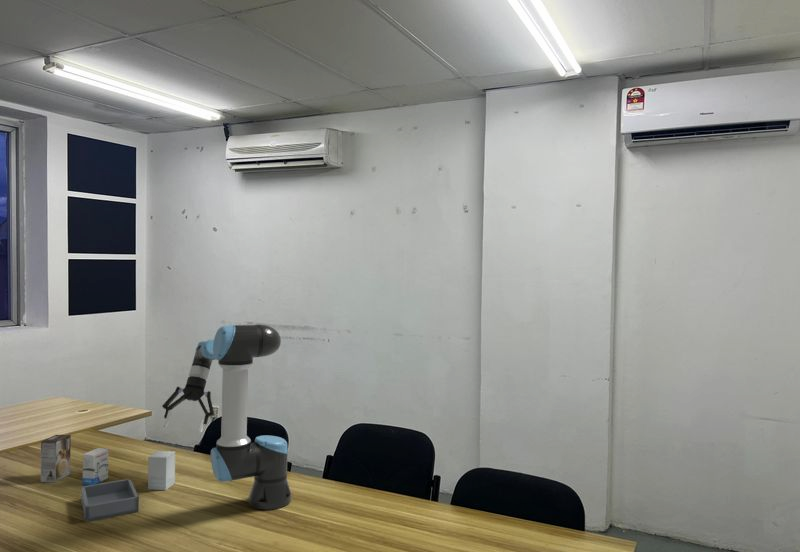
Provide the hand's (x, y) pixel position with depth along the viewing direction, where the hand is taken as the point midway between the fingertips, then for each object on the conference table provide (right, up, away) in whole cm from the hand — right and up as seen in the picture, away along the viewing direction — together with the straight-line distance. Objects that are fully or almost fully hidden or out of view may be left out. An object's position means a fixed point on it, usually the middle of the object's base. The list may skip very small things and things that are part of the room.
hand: (182, 429), depth 221 cm
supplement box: (-5, -20, -7) cm, 22 cm away
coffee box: (-50, -19, -2) cm, 53 cm away
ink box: (-33, -19, -4) cm, 38 cm away
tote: (-16, -20, -26) cm, 36 cm away
